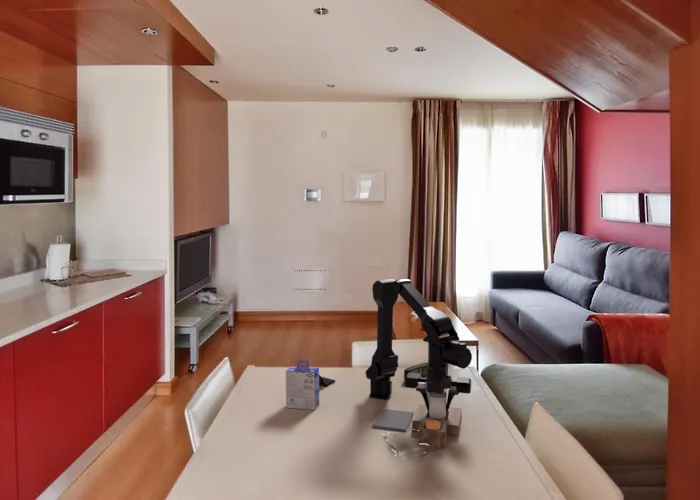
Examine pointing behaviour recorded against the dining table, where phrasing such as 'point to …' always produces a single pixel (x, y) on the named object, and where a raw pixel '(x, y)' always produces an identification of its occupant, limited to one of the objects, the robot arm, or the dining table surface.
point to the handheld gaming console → (325, 381)
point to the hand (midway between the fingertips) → (437, 410)
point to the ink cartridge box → (302, 387)
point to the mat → (393, 419)
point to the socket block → (436, 436)
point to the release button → (433, 425)
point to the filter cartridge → (437, 405)
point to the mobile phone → (417, 370)
